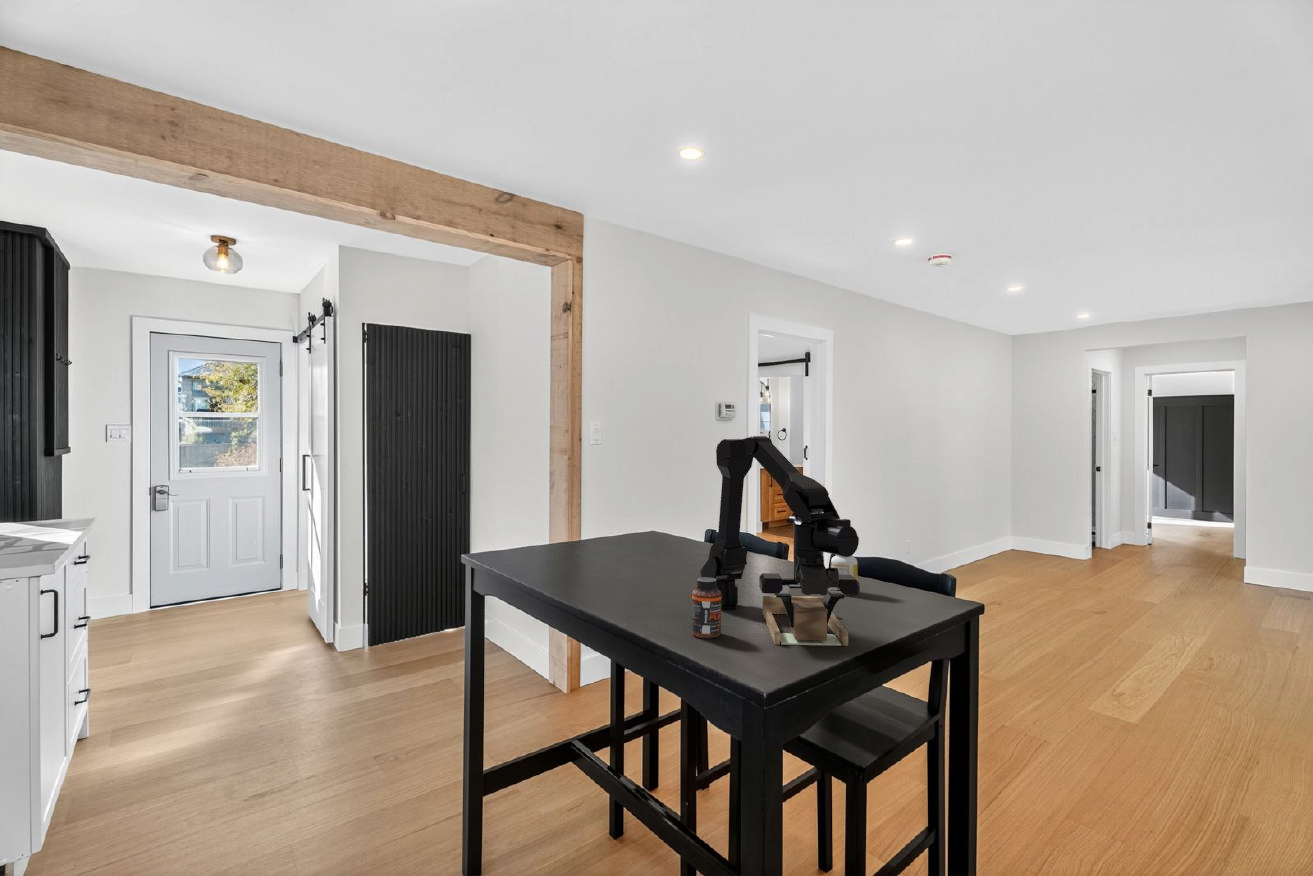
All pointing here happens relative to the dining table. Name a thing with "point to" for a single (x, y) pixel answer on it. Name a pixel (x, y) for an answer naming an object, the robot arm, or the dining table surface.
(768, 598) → the bay
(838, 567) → the pill bottle
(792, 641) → the front pad
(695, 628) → the supplement bottle
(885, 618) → the dining table surface
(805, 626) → the crate
